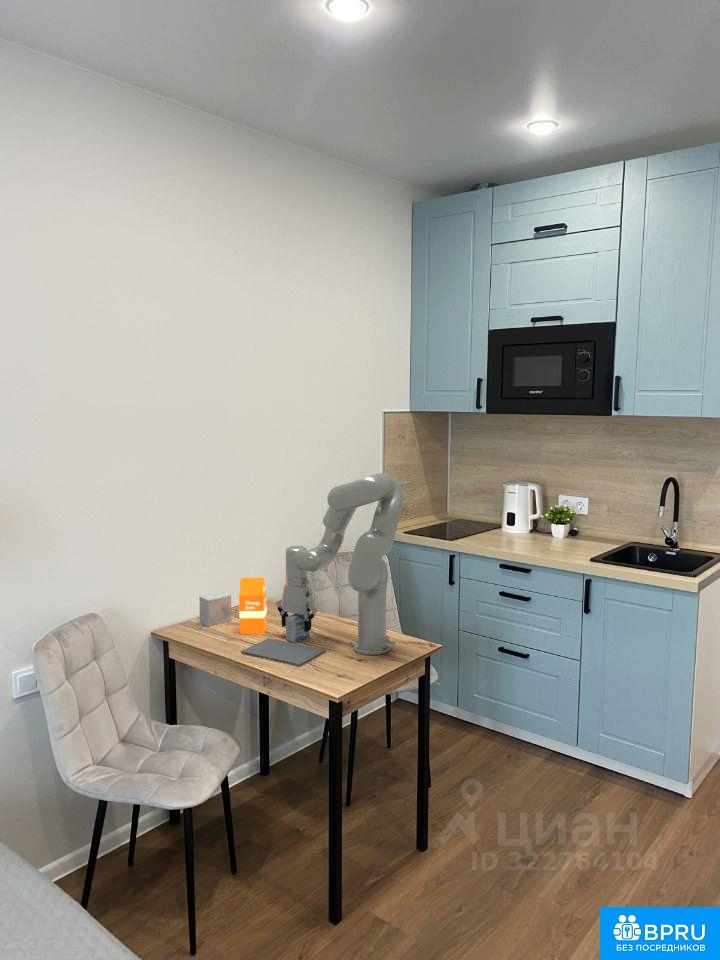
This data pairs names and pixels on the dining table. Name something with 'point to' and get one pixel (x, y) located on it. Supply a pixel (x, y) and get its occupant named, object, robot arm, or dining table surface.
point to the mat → (283, 651)
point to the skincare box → (215, 608)
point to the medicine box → (295, 628)
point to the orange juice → (252, 606)
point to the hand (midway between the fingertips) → (296, 628)
